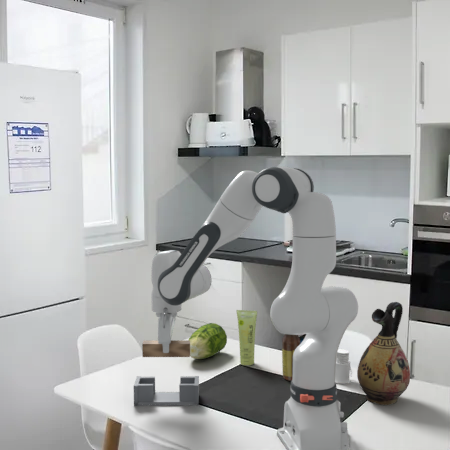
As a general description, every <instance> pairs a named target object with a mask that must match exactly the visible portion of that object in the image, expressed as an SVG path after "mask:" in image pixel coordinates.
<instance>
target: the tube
mask: <svg viewBox="0 0 450 450" xmlns="http://www.w3.org/2000/svg"><path fill="white" fill-rule="evenodd" d="M236 316H237V326H238V339H239V341H238V342H239V360H240V361H239V362H240V365H242V366H253V365H254V364H255V347H256V346H255V345H256V344H255V341H256V326H257V318H258V310H247V309H246V310H245V309H244V310H243V309H236Z"/></svg>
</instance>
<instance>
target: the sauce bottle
mask: <svg viewBox="0 0 450 450" xmlns="http://www.w3.org/2000/svg"><path fill="white" fill-rule="evenodd" d="M300 344H301V338H300V335H288V334H283V337H282V338H281V345H282V347H281V357H282V358H281V359H282V363H281V364H282V377H283V379H284V380H286V381H290V382H291V381H292V378H293V353H294V351H295V349H296V348H297V347H298V346H299V345H300Z"/></svg>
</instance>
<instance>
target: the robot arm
mask: <svg viewBox="0 0 450 450" xmlns="http://www.w3.org/2000/svg"><path fill="white" fill-rule="evenodd" d="M314 189H315V186H314V181H313V179H312V178H311V176H310V174H308V173H307V172H306V171H304V170H303V169H300V168H297V167H295V168H294V167H293V168H292V167H288V166H269V167H267V168H264V169H262V170H261V171H260V172H256V171H254V170H243V171H241V172H239V173H238V174H237V175H236V176H235V177H234V179H233V180H231V182H230V183H229V185H228V186H227V187H226V188H225V190H224V191H223V192H222V194H221V196H220V198H219V199H218V200H217V202H216V204H215V206H214V207H213V209H211V210H212V211H211V212H210V213H209V215H208V216H207V218H206V220H205V221H204V222H203V224H202V225H201V226H200V228H199V230H198V231H197V232H195V235H194V236H193V237H192V238H191V240H190V241H189V243H188V244H187V245H186V247H184V250H183V251H182V252H181V251H179V250H176V249H169V250H164V251H159V252H157V253H155V254H154V256H153V257H152V258H153V259H152V261H151V262H152V263H151V275H150V276H151V278H150V279H151V284H152V291H151V311H152V312H154V313H155V316H156V317H158V320H157V340H158V343H159V344H162V345H163V353H169V344H170V343H171V340H172V337H173V333H174V329H175V328H174V327H175V324H176V318H177V316H178V312H179V313H180V312H181V311H182V304H183V303H185V302H187V301H189V300H192V299H194V298H196V297H199V296H202V295H203V294H205V293H206V292H208V291H209V289H210V288H211V286H212V275H211V272H210V270H209V269H208V267H207V266H206V265H204V263H205V262H206V261H207V259H208V258H209V256H210V255H211V254H213V253H214V251H216V250H218V248H221V247H223V246H225V245H226V244H228V243H230V242H233V241H235V240H236V239H238V238H240V237H241V236H242V235H244V233H245V232H247V231H246V230H248V228H250V226H251V225H252V223H253V222H254V220H255V219H256V217H257V216H258V213H259V212H260V211H261V209H263V208H266V209H268V210H272V211H276V212H278V213H281V214H287V213H288V215H289V216H290V218H291V221H292V256H291V257H292V260H291V261H292V263H291V269H290V273H289V276H288V277H287V278H288V279H287V281H286V284H285V286H284V287H283V289H282V291H281V292H280V293H279V294H278V296H277V297H276V298H274V300H273V301H272V303H271V307H270V310H269V313H270V314H269V316H270V320H271V323H272V325H273V326H274V328H275V330H276V331H278V332H279V333H280V334H281V335H285V334H288V335H298V336H302V335H305V336H304V338H303V340H302V341H301V342H300V345H299V346H298V347H297V348H296V349H295V351H294V353H293V378H292V381H290V386H289V390H290V398H288V400H286V401H285V403H284V408H283V409H284V410H283V427H279V428H278V429H276V430H277V431H276V436H277V437H278V438H279V439H280V441H281V443H282V444H283V445H284V447H285V449H286V450H350V439H349V430H348V422H346V421H341V418H344V417H345V413H344V411H341V402H340V401H339V400H338V389H337V388H338V387H337V383H335V368H336V356H337V351H338V349H340V348H339V347H340V345H341V341H342V338H343V336H344V335H345V333H346V331H347V329H348V328H349V326H350V325H351V323H353V322H354V321H355V320H356V318H357V316H358V312H359V303H358V300H357V299H358V298H357V297H356V295H355V293H354V292H353V291H352V290H351V289H349V288H347V287H343V286H342V287H341V286H332V285H331V286H326V287H325V286H324V287H323V285H324V282H325V280H326V278H327V276H329V274H330V273H332V272H333V270H335V268H336V265H337V229H336V216H335V211H334V206H333V203H332V202H333V201H332V200H331V198H330V197H329V196H328V195H327V194H324V193H322V192H318V191H314Z"/></svg>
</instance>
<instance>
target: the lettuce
mask: <svg viewBox="0 0 450 450" xmlns="http://www.w3.org/2000/svg"><path fill="white" fill-rule="evenodd" d="M188 340H190V357H191V358H192V359H196V360H205V359H208V358H210V357H213V356H215V355H217V354H218V353H219V352H221V351H222V350H224V348H225V347H226V344H227V342H228V337H227V333H226V331H225V329H224V328H223V327H222V325H220V324H218V323H216V322H215V323H214V322H209V323H206V324H203V325H201V326H200V327H199V328H198V329H196V330H195V331H194V332H193V333H192V334H191V335H190V336H189V338H188ZM190 357H189V358H190Z"/></svg>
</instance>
